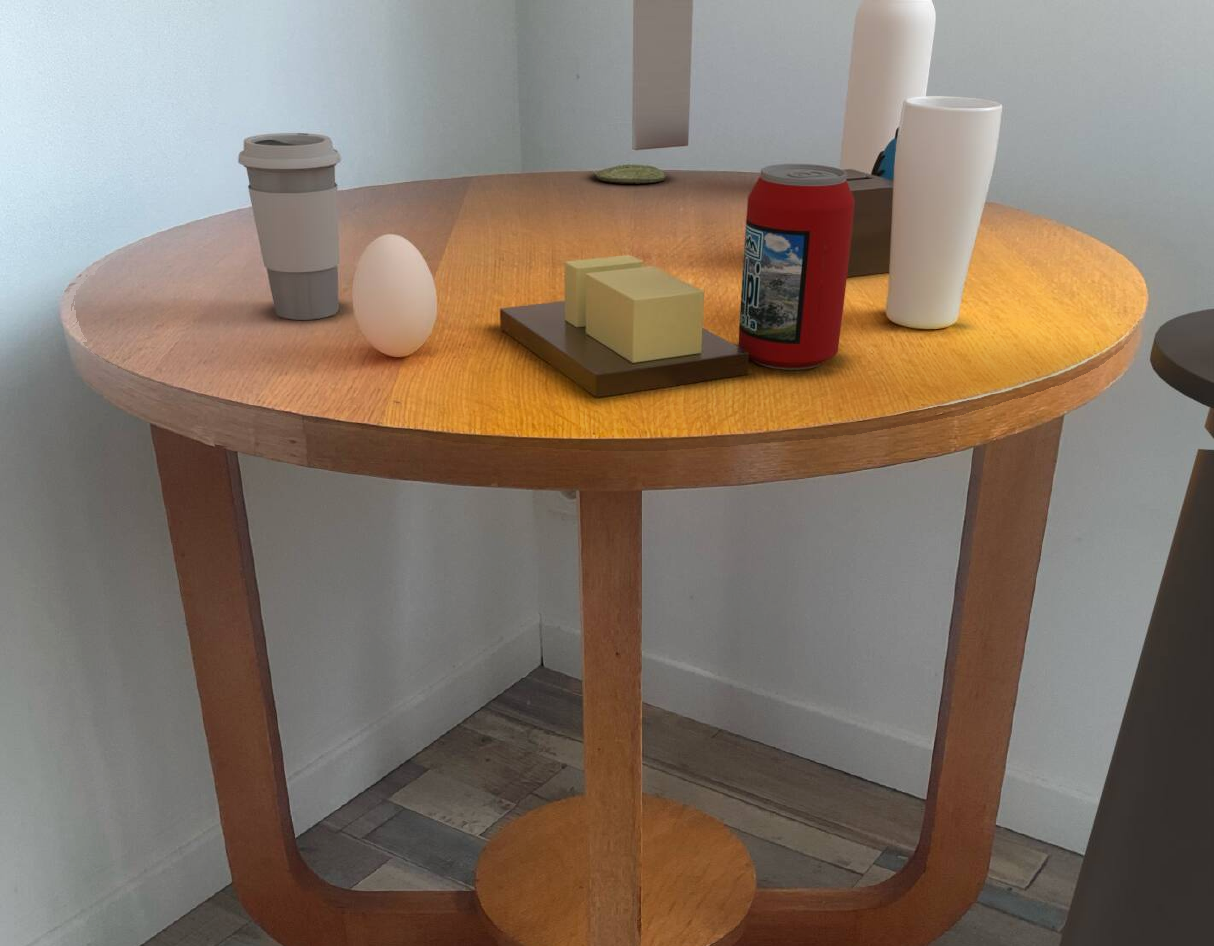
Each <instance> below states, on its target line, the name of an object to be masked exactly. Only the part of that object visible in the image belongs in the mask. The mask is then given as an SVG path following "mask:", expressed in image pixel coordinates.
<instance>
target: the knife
mask: <svg viewBox="0 0 1214 946" xmlns="http://www.w3.org/2000/svg"><path fill="white" fill-rule="evenodd" d="M632 1H633V4H632V9H633V10H632V101H631V103H632V106H631V107H632V111H631V113H632V114H631V117H632V119H631V134H632V135H631V149H632V150H633V151H643V150H655V149H664V148H665V149H666V148H678V147H679V148H680V147H688V146H689V137H690V136H689V134H690V102H691V77H692V76H691V72H692V71H691V70H692V39H693V38H692V37H693V12H694V8H693V7H694V0H632Z"/></svg>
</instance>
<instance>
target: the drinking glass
mask: <svg viewBox="0 0 1214 946" xmlns="http://www.w3.org/2000/svg"><path fill="white" fill-rule="evenodd" d="M1002 114H1003V104H1002V103H1000V102H999V101H994V100H992V99H991V100H990V99H985V98H978V97H976V98H975V97H966V96H952V95H951V96H949V95H947V96H946V95H926V96H924V97H913V98H908V99H906V100H904V102H903V107H902V112H901V118H900V124H899V130H898V136H897V144H896V153H895V163H894V178H893V200H892V223H891V244H890V264H889V272H888V283H887V284H888V285H887V292H886V293H887V294H886V299H885V300H886V302H885V315H886V317H887V318H888V319H889V321H891V322H892V323H893V324H896V325H898V326H902V327H905V328H910V329H917V330H938V329H944V328H948V327H950V326H952V325H954V324H955V323H957V321H958V319H959V317H960V312H961V307H962V300H963V295H964V291H965V285H966V283H967V282H966V281H967V278H968V274H969V270H970V269H969V268H970V265H971V261H972V257H973V252H974V249H975V245H976V242H977V237H978V233H979V228H980V225H981V221H982V217H983V213H984V209H985V205H986V201H987V197H988V193H989V189H990V185H991V180H992V176H993V172H994V169H995V168H994V167H995V162H996V158H997V151H998V145H999V140H1000V132H1001V125H1002V124H1001V122H1002Z"/></svg>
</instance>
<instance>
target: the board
mask: <svg viewBox="0 0 1214 946" xmlns="http://www.w3.org/2000/svg"><path fill="white" fill-rule="evenodd" d="M499 316H500V320H499V321H500V330H502V331H503V332H505V334H507V335H509V336H511V337H512V338H513V339H514V340H516V341H517V342H518V343H520V344H521V345H522V346H523V347H525V348H526V349H528V350H529V351H531V352H532V353H534V354H535V355H536V356H538V357H539V358H541V359H542V360H543V361H545V362H546V363H548V364H549V365H550V366H552V367H553V368H554V369H556V370H557V371H558V372H559V373H561V374H563V375H564V376H565V377H566V378H568V379H570V380H571V381H573V382H574V383H575V384H577V385H578V386H579V387H581V388H582V389H583V390H585V391H586V392H587V393H589V394H591V395H592V396H593V397H595V398H604V397H609V396H617V395H622V394H629V393H635V392H636V393H637V392H641V391H643V392H644V391H648V390H649V391H650V390H654V389H655V390H656V389H661V388H668V387H675V386H681V385H688V384H693V383H701V382H706V381H707V382H708V381H714V380H720V379H727V378H733V377H739V376H745V375H748V373H749V363H750V357H749V352H747V351H746V350H744V349H742V348H740V347H739V345H737V344H734V343H732V342H731V341H729V340H727V339H725V338H723V337H721V336H719V335H717V334H716V333H713V332H712V331H710V330H709V329H706V328H705V327H703V329H702V349H701V353H699V354H692V355H685V356H678V357H672V358H665V359H658V360H651V361H644V362H637V363H632V362H630V361H629V360H627V359H626V358H624V357H622V356H621V355H619V354H618V353H616V352H615V351H613V350H611V349H610V348H608V347H607V346H605V345H604V344H602V343H600V342H599V341H597V340H596V339H594V338H593V337H591V336H589V335H588V334H586V326H585V327H575V326H574V325H572V324H570V323H569V322H567V321H566V320H565V300H560V301H552V302H543V303H534V304H526V305H519V306H518V305H517V306H510V307H502V308H501V307H500V309H499Z"/></svg>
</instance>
